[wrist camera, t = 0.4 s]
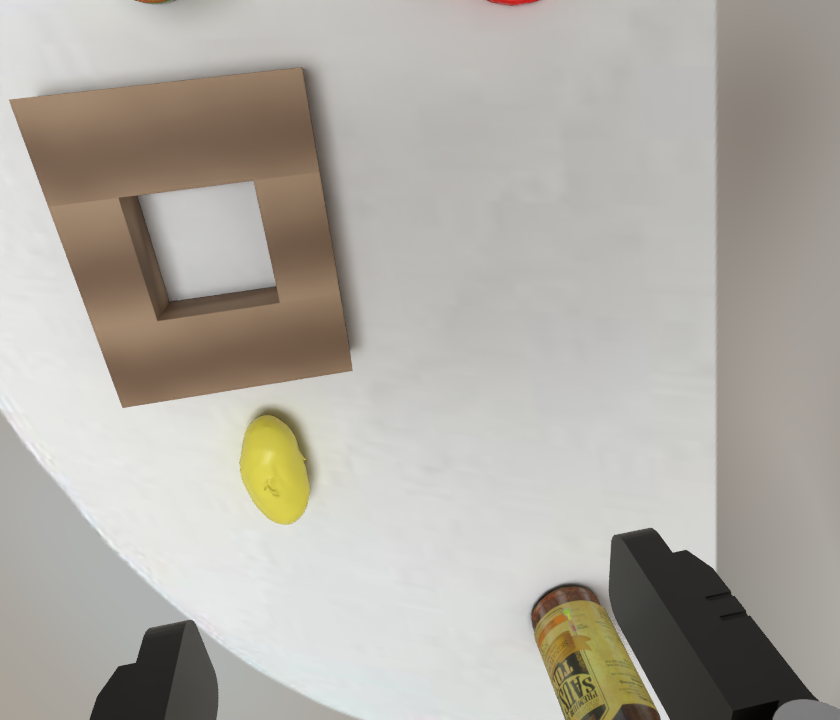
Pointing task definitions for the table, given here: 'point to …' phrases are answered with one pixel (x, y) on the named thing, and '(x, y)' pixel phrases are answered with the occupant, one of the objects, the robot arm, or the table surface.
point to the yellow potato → (274, 470)
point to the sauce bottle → (588, 659)
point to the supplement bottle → (155, 1)
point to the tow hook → (512, 1)
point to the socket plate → (177, 170)
